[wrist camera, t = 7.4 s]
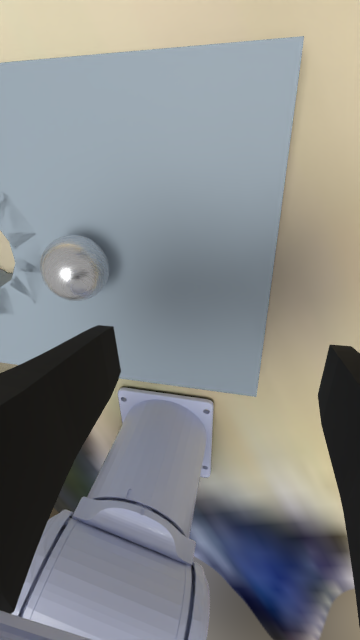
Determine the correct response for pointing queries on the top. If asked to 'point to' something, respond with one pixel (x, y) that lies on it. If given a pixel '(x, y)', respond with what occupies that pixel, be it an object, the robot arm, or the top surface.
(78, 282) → the ball
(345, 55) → the top surface
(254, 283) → the deck
